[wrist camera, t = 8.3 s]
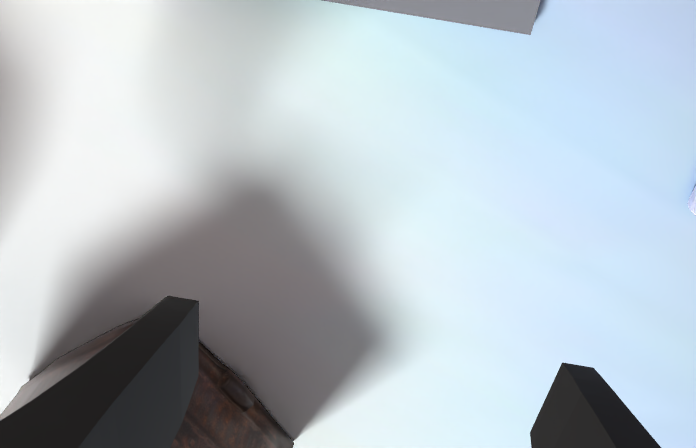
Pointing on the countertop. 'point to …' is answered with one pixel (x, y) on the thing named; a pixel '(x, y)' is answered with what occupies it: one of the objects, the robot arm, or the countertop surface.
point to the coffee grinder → (204, 407)
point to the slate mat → (463, 11)
